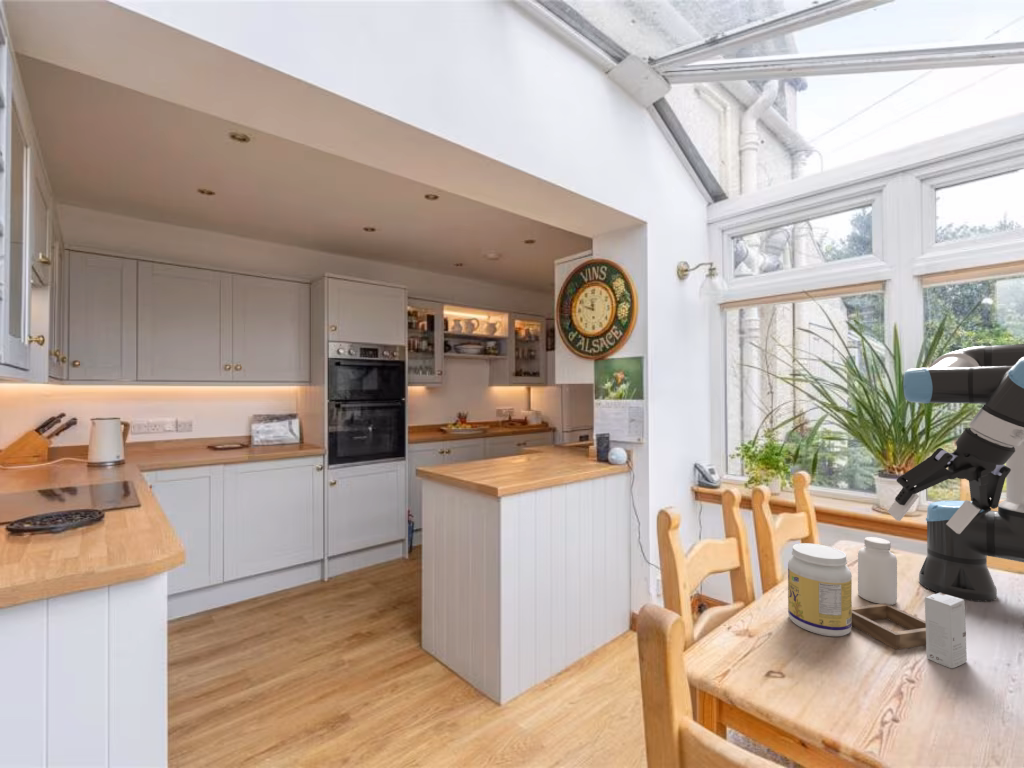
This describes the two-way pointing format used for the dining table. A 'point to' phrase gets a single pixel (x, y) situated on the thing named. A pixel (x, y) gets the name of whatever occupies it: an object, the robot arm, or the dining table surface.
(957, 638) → the skincare box
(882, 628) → the holder
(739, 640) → the dining table surface
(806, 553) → the supplement tub
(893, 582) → the pill bottle
